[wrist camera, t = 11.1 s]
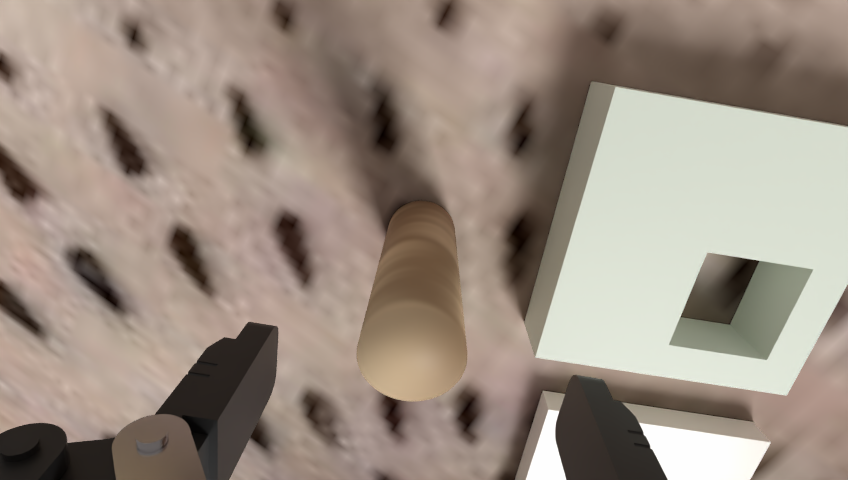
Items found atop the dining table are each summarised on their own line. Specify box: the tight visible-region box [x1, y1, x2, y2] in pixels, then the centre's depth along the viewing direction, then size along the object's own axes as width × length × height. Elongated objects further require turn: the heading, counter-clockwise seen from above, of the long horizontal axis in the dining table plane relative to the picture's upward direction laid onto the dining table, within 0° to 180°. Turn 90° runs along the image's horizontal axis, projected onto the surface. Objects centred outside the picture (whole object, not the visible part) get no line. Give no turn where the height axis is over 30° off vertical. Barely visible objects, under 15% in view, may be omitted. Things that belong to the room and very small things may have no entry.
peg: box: [357, 201, 467, 401], centre depth 19 cm, size 3×3×10 cm
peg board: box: [524, 81, 848, 396], centre depth 22 cm, size 12×12×3 cm
